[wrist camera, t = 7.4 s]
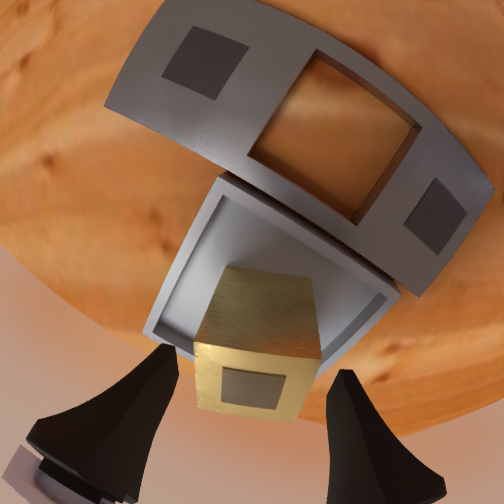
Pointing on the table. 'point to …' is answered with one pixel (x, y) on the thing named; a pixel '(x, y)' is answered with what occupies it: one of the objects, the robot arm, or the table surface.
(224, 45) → the metal plate with cutout
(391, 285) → the parts tray
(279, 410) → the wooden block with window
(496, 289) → the table surface
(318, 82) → the table surface
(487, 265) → the table surface
